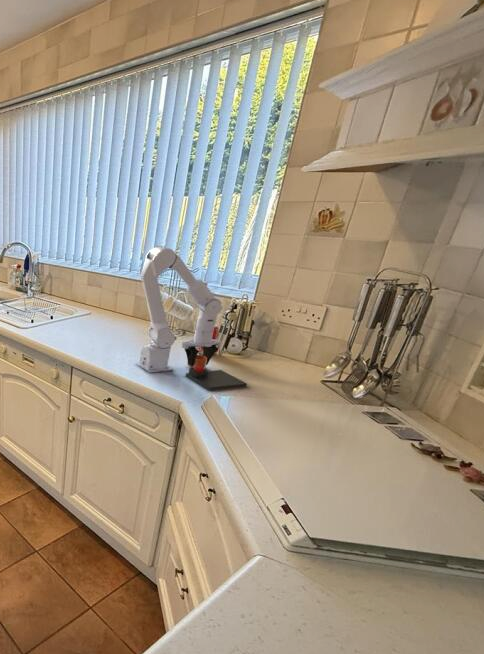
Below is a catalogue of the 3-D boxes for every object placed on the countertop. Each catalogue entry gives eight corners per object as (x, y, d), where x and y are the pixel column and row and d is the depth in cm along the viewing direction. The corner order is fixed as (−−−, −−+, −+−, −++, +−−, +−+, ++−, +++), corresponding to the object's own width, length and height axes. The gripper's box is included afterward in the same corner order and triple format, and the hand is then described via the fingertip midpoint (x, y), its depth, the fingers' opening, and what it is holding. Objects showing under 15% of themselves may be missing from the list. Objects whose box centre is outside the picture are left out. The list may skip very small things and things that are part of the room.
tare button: (197, 373, 136) (198, 368, 136) (192, 370, 139) (193, 365, 138) (204, 372, 137) (205, 368, 136) (199, 369, 139) (200, 365, 139)
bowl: (195, 371, 144) (197, 360, 142) (185, 366, 149) (187, 355, 147) (208, 370, 145) (210, 359, 143) (198, 365, 150) (200, 354, 148)
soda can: (212, 356, 157) (218, 328, 153) (192, 353, 161) (198, 325, 157) (215, 351, 163) (221, 324, 158) (196, 348, 167) (202, 321, 162)
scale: (209, 391, 129) (211, 382, 128) (184, 375, 141) (185, 368, 140) (246, 387, 132) (248, 379, 130) (218, 372, 143) (220, 364, 142)
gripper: (194, 334, 136) (186, 370, 142) (230, 331, 139) (222, 367, 144) (181, 328, 143) (174, 363, 148) (216, 326, 145) (208, 360, 150)
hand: (197, 364), depth 147 cm, fingers closed on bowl, 5 cm apart
